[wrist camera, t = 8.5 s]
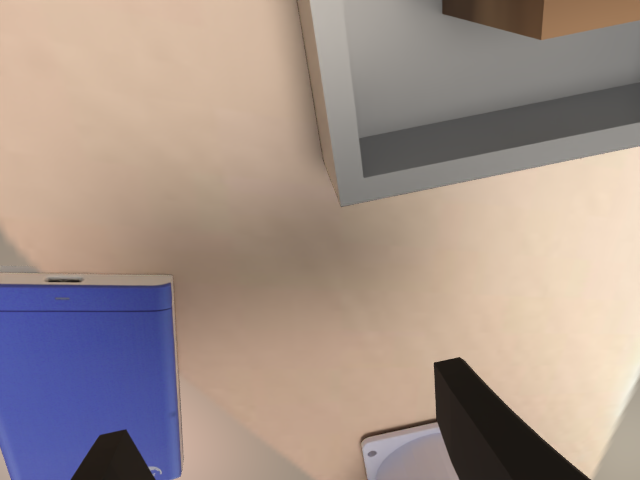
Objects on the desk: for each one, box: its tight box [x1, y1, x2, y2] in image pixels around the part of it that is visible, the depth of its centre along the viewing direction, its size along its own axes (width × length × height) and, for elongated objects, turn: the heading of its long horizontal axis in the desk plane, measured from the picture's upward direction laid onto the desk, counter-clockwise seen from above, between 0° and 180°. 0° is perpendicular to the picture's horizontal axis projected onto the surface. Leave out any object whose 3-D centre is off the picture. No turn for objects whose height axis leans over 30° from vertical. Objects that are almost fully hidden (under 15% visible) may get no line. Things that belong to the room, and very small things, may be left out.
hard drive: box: [0, 266, 184, 480], centre depth 22 cm, size 2×8×12 cm
